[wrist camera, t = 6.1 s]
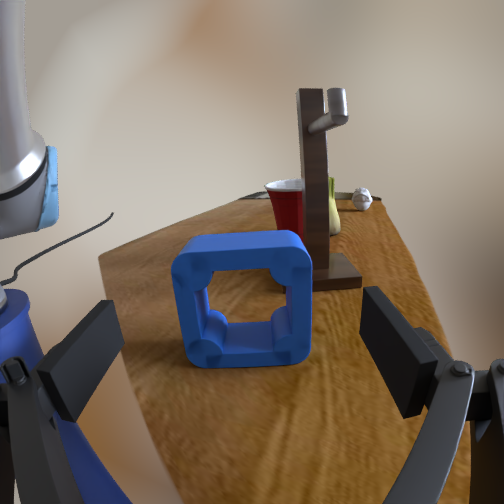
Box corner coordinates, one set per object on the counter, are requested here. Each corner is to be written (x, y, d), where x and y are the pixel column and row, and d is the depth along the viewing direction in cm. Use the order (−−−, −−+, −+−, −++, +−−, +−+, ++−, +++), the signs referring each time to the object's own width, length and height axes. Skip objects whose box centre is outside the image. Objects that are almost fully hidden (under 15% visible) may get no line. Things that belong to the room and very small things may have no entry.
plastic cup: (256, 255, 53) (252, 184, 50) (282, 239, 62) (279, 178, 59) (318, 261, 48) (316, 183, 44) (335, 243, 57) (334, 178, 53)
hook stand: (386, 321, 29) (387, 63, 22) (290, 331, 29) (276, 57, 22) (341, 261, 47) (336, 98, 40) (277, 266, 47) (268, 98, 40)
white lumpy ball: (351, 212, 86) (350, 188, 84) (352, 208, 92) (352, 186, 90) (371, 213, 84) (371, 189, 82) (371, 209, 90) (371, 186, 88)
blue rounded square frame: (310, 363, 24) (312, 244, 21) (189, 368, 24) (167, 253, 21) (302, 332, 29) (301, 228, 26) (198, 337, 29) (183, 236, 26)
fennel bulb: (325, 239, 60) (323, 177, 57) (310, 234, 64) (308, 176, 61) (346, 234, 62) (345, 176, 59) (330, 230, 67) (329, 175, 63)
